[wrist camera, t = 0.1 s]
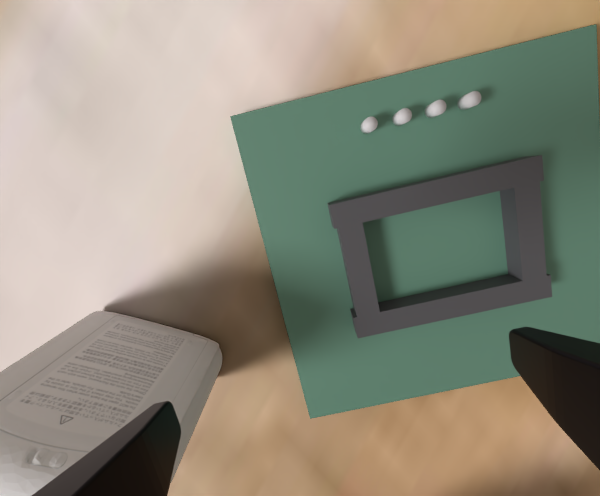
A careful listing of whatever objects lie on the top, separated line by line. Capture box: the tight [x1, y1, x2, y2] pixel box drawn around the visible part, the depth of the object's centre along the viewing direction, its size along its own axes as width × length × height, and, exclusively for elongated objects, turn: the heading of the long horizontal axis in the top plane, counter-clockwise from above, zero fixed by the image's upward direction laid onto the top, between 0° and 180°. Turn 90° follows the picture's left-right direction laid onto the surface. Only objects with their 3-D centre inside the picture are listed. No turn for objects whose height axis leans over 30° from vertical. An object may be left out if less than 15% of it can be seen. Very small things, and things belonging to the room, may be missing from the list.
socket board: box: [230, 24, 600, 419], centre depth 21 cm, size 22×22×2 cm
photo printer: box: [0, 311, 222, 496], centre depth 18 cm, size 10×4×12 cm, turn 74°
